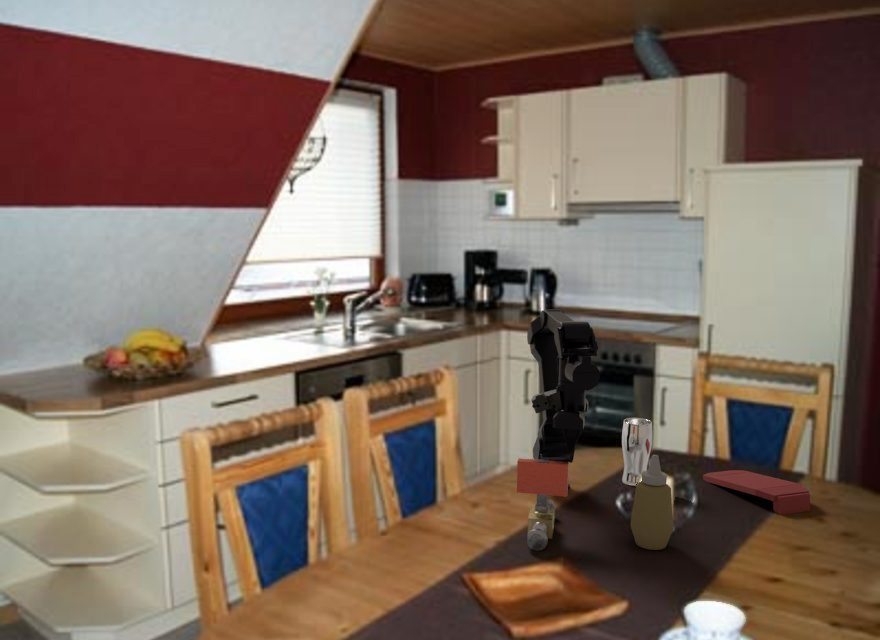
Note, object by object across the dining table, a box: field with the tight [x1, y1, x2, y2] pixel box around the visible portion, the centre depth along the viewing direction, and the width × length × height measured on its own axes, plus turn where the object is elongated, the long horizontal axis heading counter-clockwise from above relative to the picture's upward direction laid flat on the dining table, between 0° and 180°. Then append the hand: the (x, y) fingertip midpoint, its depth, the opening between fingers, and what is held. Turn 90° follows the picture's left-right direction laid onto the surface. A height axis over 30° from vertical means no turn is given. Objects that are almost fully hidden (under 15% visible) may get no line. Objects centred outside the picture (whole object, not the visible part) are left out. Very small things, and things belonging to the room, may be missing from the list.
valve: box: [526, 497, 555, 552], centre depth 161 cm, size 18×5×4 cm, turn 168°
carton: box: [702, 469, 811, 516], centre depth 185 cm, size 12×5×25 cm
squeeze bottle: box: [629, 454, 674, 551], centre depth 154 cm, size 8×8×18 cm
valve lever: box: [516, 457, 570, 513], centre depth 160 cm, size 2×10×11 cm, turn 77°
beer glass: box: [621, 417, 653, 487], centre depth 190 cm, size 7×7×15 cm
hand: (570, 451), depth 172 cm, fingers closed
